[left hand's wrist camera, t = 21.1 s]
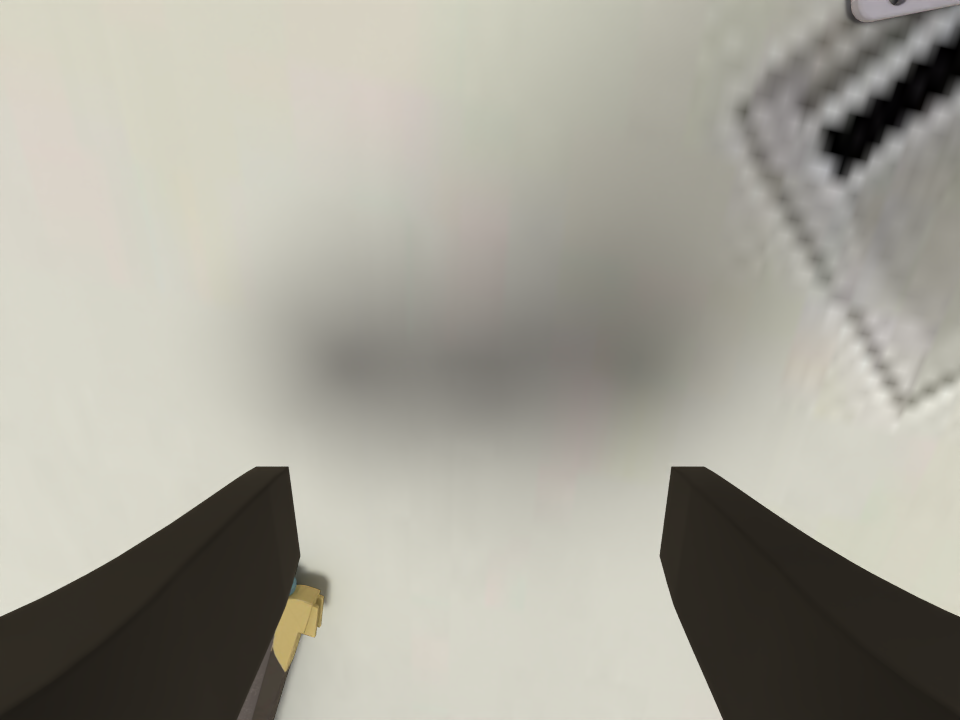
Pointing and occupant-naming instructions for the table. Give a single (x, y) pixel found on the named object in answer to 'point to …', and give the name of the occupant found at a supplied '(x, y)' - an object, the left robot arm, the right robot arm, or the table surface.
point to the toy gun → (283, 652)
